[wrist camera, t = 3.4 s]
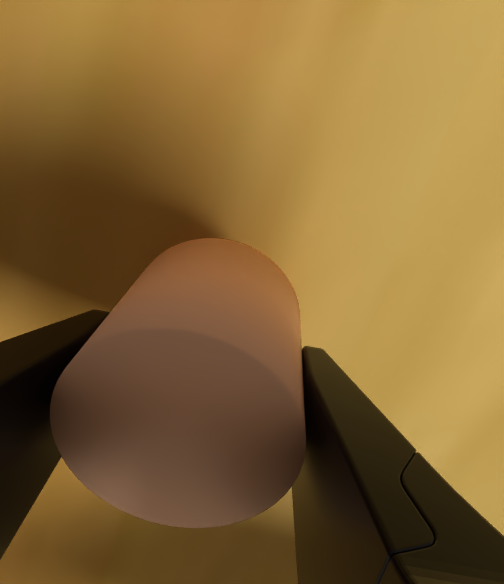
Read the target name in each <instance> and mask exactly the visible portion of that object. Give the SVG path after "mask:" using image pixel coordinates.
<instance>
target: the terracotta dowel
mask: <svg viewBox="0 0 504 584" xmlns="http://www.w3.org/2000/svg"><path fill="white" fill-rule="evenodd" d="M50 423H51V430H52V434H53V437H54V440H55V444H56V446H57V448H58V450H59V452H60V454H61V456H62V458H63V459H64V461H65V463H66V464H67V466H68V467H69V469H70V470H71V471H72V472H73V473H74V475H75V476H76V477H77V478H78V479H79V480H80V481H81V482H82V483H83V484H84V485H85V486H86V487H87V488H88V489H89V490H91V491H92V492H93V493H94V494H96V495H97V496H98V497H99V498H101V499H103V500H104V501H106V502H107V503H109V504H110V505H112V506H114V507H116V508H118V509H120V510H122V511H124V512H126V513H128V514H130V515H133V516H135V517H138V518H141V519H144V520H147V521H150V522H153V523H158V524H163V525H167V526H174V527H182V528H211V527H218V526H225V525H229V524H233V523H237V522H241V521H243V520H246V519H249V518H252V517H254V516H256V515H258V514H260V513H262V512H264V511H265V510H267V509H268V508H270V507H271V506H273V505H274V504H275V503H277V502H278V501H279V500H280V499H281V498H282V497H283V496H284V495H285V494H286V493H287V492H288V490H289V489H290V488H291V487H292V486H293V484H294V482H295V480H296V479H297V477H298V475H299V473H300V470H301V468H302V465H303V462H304V457H305V451H306V429H305V409H304V388H303V367H302V346H301V326H300V310H299V304H298V300H297V297H296V293H295V291H294V289H293V287H292V285H291V283H290V281H289V280H288V278H287V277H286V275H285V274H284V273H283V271H282V270H281V269H280V268H279V267H278V266H277V265H276V264H275V263H274V262H273V261H272V260H271V259H270V258H268V257H267V256H265V255H264V254H262V253H261V252H259V251H258V250H256V249H254V248H252V247H250V246H247V245H245V244H242V243H239V242H236V241H232V240H227V239H219V238H201V239H194V240H189V241H186V242H182V243H179V244H177V245H175V246H173V247H170V248H169V249H167V250H166V251H164V252H162V253H161V254H160V255H159V256H157V257H156V258H155V259H154V260H153V261H152V262H151V263H150V264H149V265H148V267H147V268H146V269H145V270H144V271H143V273H142V274H141V275H140V276H139V278H138V279H137V280H136V281H135V282H134V284H133V285H132V286H131V287H130V289H129V290H128V291H127V292H126V294H125V295H124V296H123V297H122V299H121V300H120V301H119V302H118V304H117V305H116V306H115V307H114V308H113V310H112V311H111V312H110V313H109V315H108V316H107V317H106V318H105V320H104V321H103V322H102V323H101V325H100V326H99V327H98V328H97V329H96V331H95V332H94V333H93V334H92V336H91V337H90V338H89V339H88V341H87V342H86V343H85V344H84V346H83V347H82V348H81V349H80V351H79V352H78V353H77V354H76V355H75V357H74V358H73V359H72V360H71V362H70V363H69V364H68V365H67V367H66V368H65V369H64V371H63V372H62V374H61V376H60V377H59V379H58V380H57V383H56V385H55V388H54V391H53V393H52V398H51V404H50Z"/></svg>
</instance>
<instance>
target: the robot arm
mask: <svg viewBox="0 0 504 584" xmlns="http://www.w3.org/2000/svg"><path fill="white" fill-rule="evenodd" d="M109 313H110V312H106V311H100V310H91V311H88V312H85V313H82V314H79V315H77V316H74V317H71V318H68V319H65V320H62V321H59V322H56V323H54V324H51V325H48V326H45V327H42V328H39V329H36V330H34V331H31V332H28V333H25V334H22V335H19V336H16V337H13V338H11V339H8V340H5V341H2V342H0V559H1V558H2V556H3V554H4V553H5V551H6V549H7V548H8V546H9V544H10V543H11V541H12V539H13V537H14V536H15V534H16V532H17V531H18V529H19V527H20V526H21V524H22V522H23V521H24V519H25V517H26V516H27V514H28V512H29V511H30V509H31V507H32V505H33V504H34V502H35V500H36V499H37V497H38V495H39V494H40V492H41V490H42V489H43V487H44V485H45V484H46V482H47V480H48V479H49V477H50V475H51V473H52V472H53V470H54V468H55V467H56V465H57V463H58V462H59V460H60V458H61V457H62V456H61V454H60V452H59V450H58V448H57V446H56V444H55V440H54V437H53V434H52V430H51V423H50V404H51V398H52V393H53V391H54V388H55V385H56V383H57V380H58V379H59V377H60V376H61V374H62V372H63V371H64V369H65V368H66V367H67V365H68V364H69V363H70V362H71V360H72V359H73V358H74V357H75V355H76V354H77V353H78V352H79V351H80V349H81V348H82V347H83V346H84V344H85V343H86V342H87V341H88V339H89V338H90V337H91V336H92V334H93V333H94V332H95V331H96V329H97V328H98V327H99V326H100V325H101V323H102V322H103V321H104V320H105V318H106V317H107V316H108V315H109ZM302 367H303V388H304V409H305V429H306V451H305V457H304V462H303V465H302V468H301V470H300V473H299V475H298V477H297V479H296V480H295V482H294V484H293V486H292V497H293V513H294V528H295V544H296V559H297V575H298V584H504V536H503V535H502V534H501V533H500V532H499V531H498V530H497V529H496V528H494V527H493V526H492V525H491V524H490V523H489V522H488V521H487V520H486V519H485V518H484V517H483V516H481V515H480V514H479V513H478V512H477V511H476V510H475V509H474V508H473V507H472V506H471V505H470V504H469V503H468V502H467V501H466V500H465V499H464V498H463V497H462V496H460V495H459V494H458V493H457V492H456V491H455V490H454V489H453V488H452V487H451V486H450V485H449V484H448V483H447V482H446V481H445V479H444V478H443V477H442V476H441V475H440V474H439V473H438V472H437V471H436V470H435V469H434V468H433V467H432V466H431V465H430V464H429V463H428V462H427V461H426V460H425V458H424V457H423V456H422V455H421V454H420V453H418V452H417V453H416V449H415V448H414V447H413V446H412V445H411V444H410V443H409V441H408V440H407V439H406V438H405V437H404V436H403V435H402V434H401V433H400V432H399V431H398V430H397V428H396V427H395V426H394V425H393V424H392V423H391V422H390V421H389V420H388V419H387V418H386V417H385V416H384V414H383V413H382V412H381V411H380V410H379V409H378V408H377V407H376V406H375V405H374V404H373V403H372V402H371V400H370V399H369V398H368V397H367V396H366V395H365V394H364V393H363V392H362V391H361V390H360V389H359V387H358V386H357V385H356V384H355V383H354V382H353V381H352V380H351V379H350V378H349V377H348V376H347V375H346V373H345V372H344V371H343V370H342V369H341V368H340V367H339V366H338V365H337V364H336V363H335V362H334V361H333V359H332V358H331V357H330V356H329V355H328V354H327V353H326V352H325V351H324V350H323V349H321V348H315V347H310V346H305V347H303V349H302Z"/></svg>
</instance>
